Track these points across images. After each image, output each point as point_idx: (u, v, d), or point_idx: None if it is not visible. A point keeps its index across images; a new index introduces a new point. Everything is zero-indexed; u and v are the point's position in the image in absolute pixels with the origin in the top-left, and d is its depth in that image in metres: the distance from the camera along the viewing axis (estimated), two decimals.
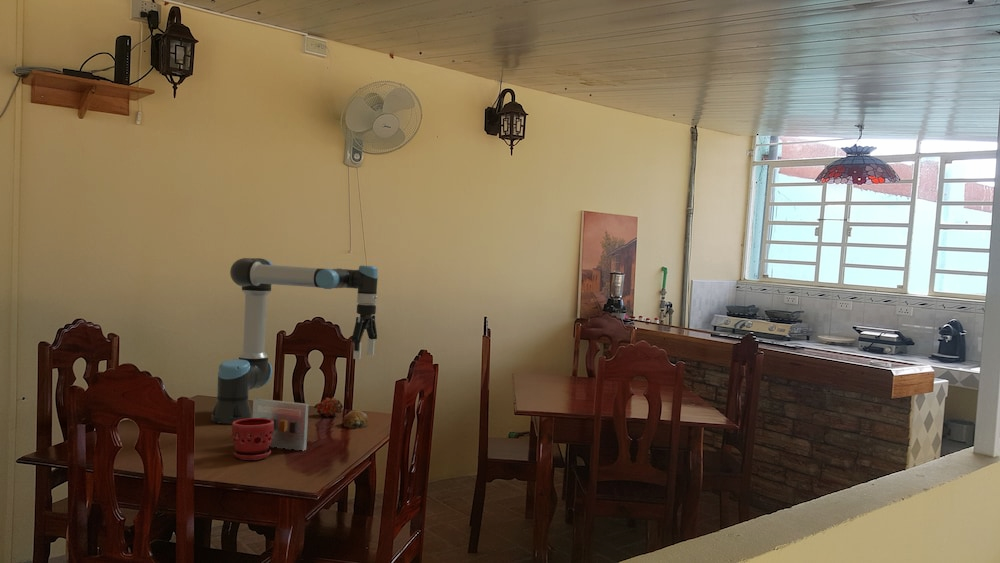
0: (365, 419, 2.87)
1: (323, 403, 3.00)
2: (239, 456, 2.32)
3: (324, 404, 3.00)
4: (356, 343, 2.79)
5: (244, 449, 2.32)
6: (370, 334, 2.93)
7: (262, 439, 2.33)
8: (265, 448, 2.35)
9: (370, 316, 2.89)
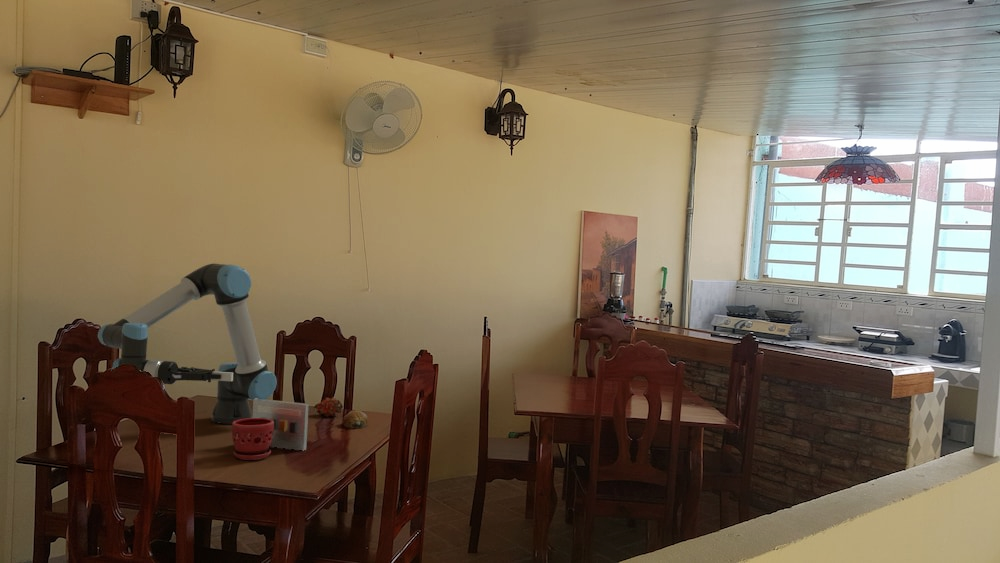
0: (365, 419, 2.87)
1: (323, 403, 3.00)
2: (239, 456, 2.32)
3: (324, 404, 3.00)
4: None
5: (244, 449, 2.32)
6: None
7: (262, 439, 2.33)
8: (265, 448, 2.35)
9: (171, 377, 2.35)
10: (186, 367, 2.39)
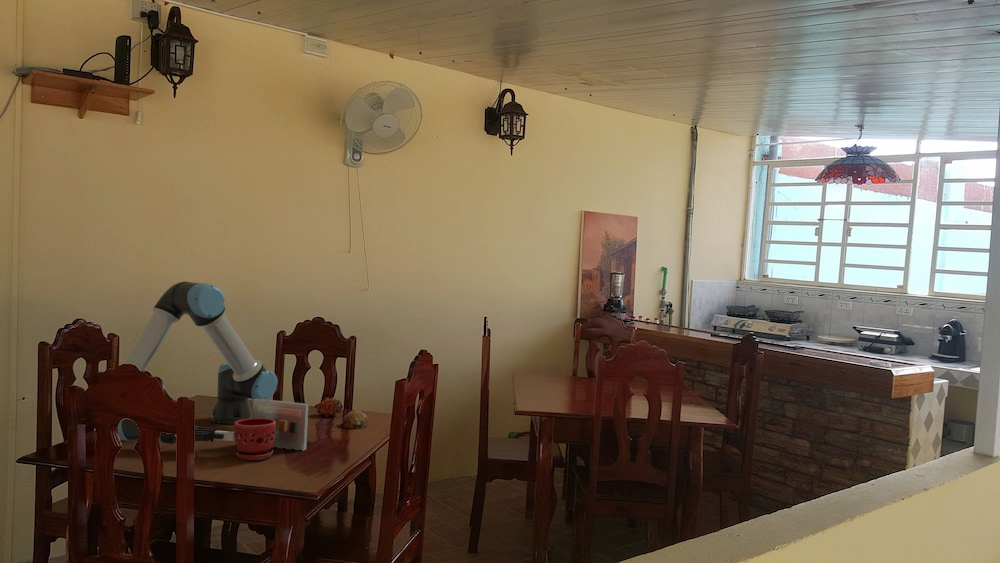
0: (365, 419, 2.87)
1: (323, 403, 3.00)
2: (241, 456, 2.32)
3: (324, 404, 3.00)
4: None
5: (246, 449, 2.32)
6: None
7: (264, 439, 2.33)
8: (267, 448, 2.35)
9: None
10: None
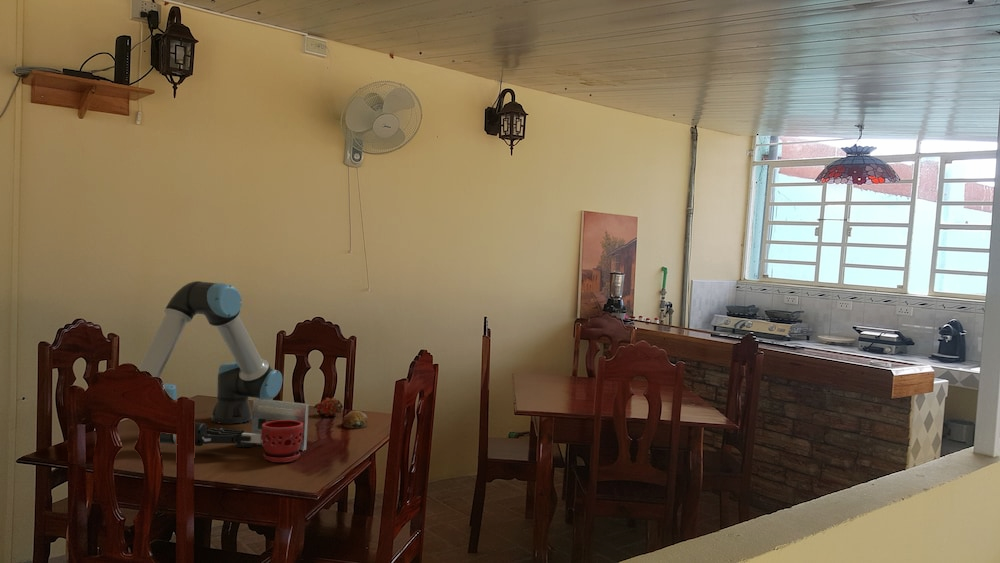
0: (365, 419, 2.86)
1: (323, 403, 3.00)
2: (269, 458, 2.31)
3: (324, 404, 3.00)
4: None
5: (274, 451, 2.31)
6: None
7: (292, 441, 2.32)
8: (295, 450, 2.35)
9: None
10: (215, 428, 2.38)
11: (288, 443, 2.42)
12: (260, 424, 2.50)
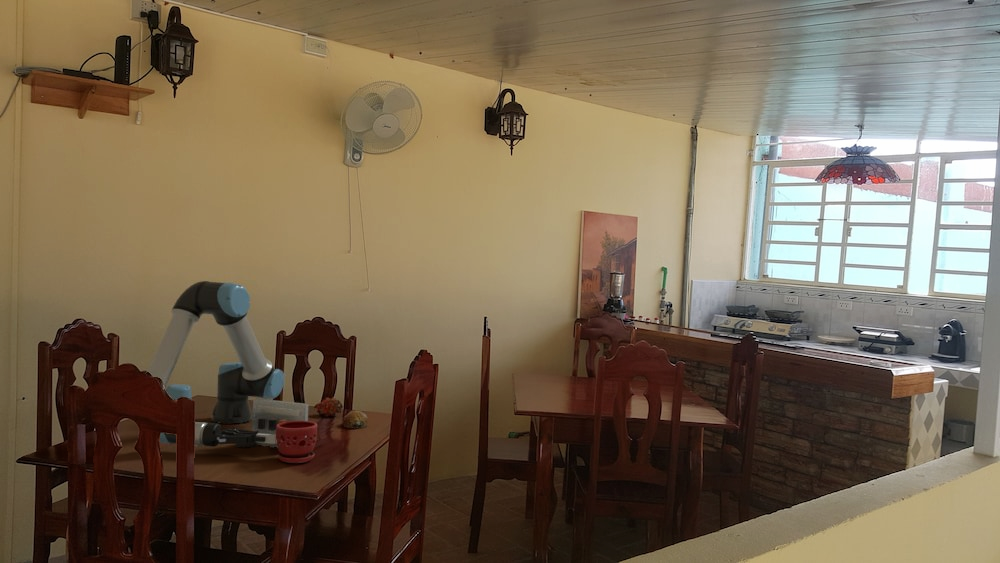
0: (365, 419, 2.86)
1: (323, 403, 3.00)
2: (284, 459, 2.31)
3: (324, 404, 3.00)
4: None
5: (289, 452, 2.31)
6: None
7: (307, 442, 2.32)
8: (309, 451, 2.35)
9: None
10: (230, 429, 2.39)
11: (302, 444, 2.42)
12: (260, 424, 2.50)
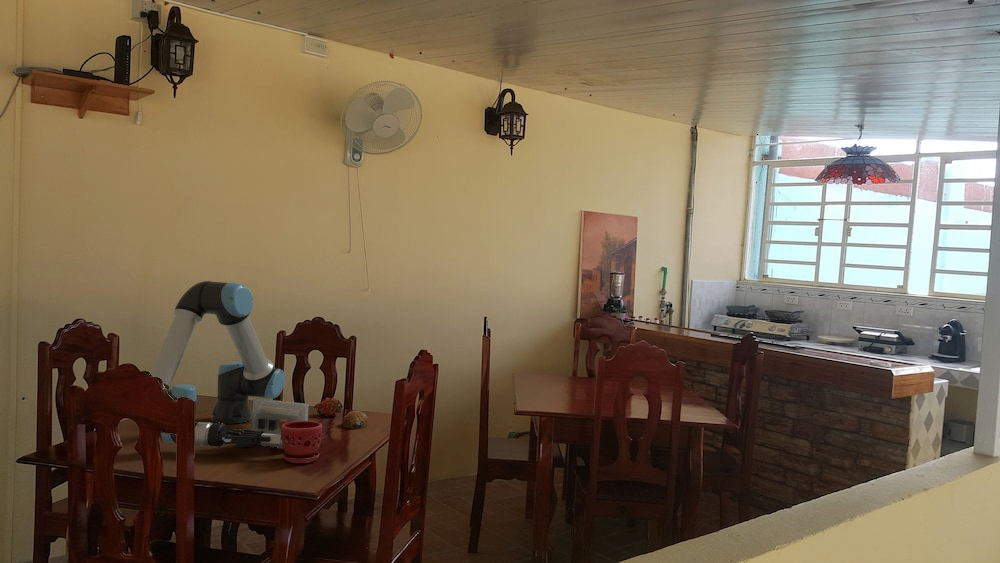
0: (365, 420, 2.86)
1: (323, 403, 3.00)
2: (289, 459, 2.32)
3: (324, 404, 3.00)
4: None
5: (294, 452, 2.31)
6: None
7: (312, 442, 2.33)
8: (314, 451, 2.35)
9: None
10: (235, 429, 2.39)
11: (307, 444, 2.42)
12: (260, 424, 2.50)
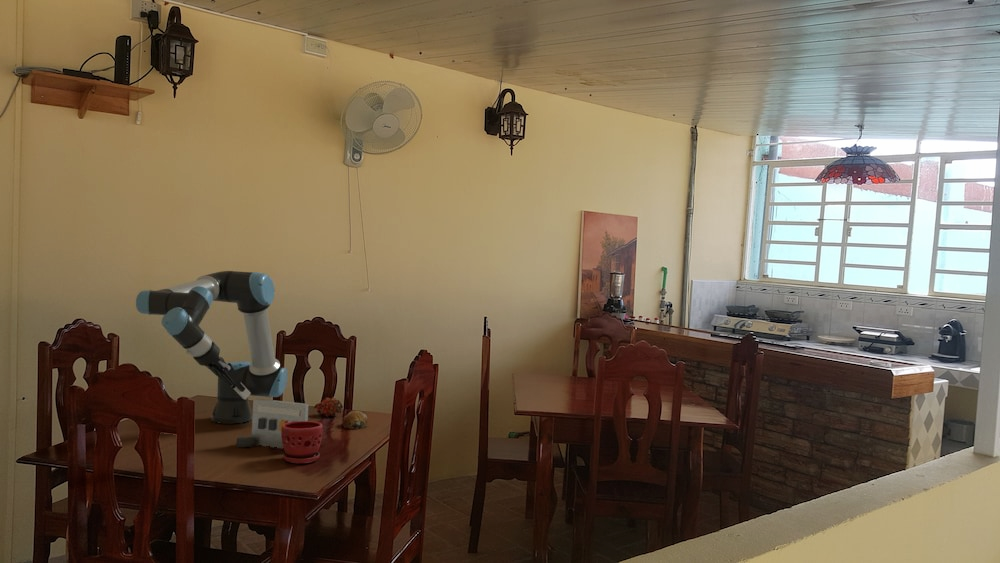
0: (365, 420, 2.86)
1: (323, 403, 3.00)
2: (289, 459, 2.32)
3: (324, 404, 3.00)
4: None
5: (294, 452, 2.31)
6: None
7: (312, 442, 2.33)
8: (314, 451, 2.35)
9: (214, 362, 2.24)
10: None
11: (308, 444, 2.42)
12: (260, 424, 2.50)
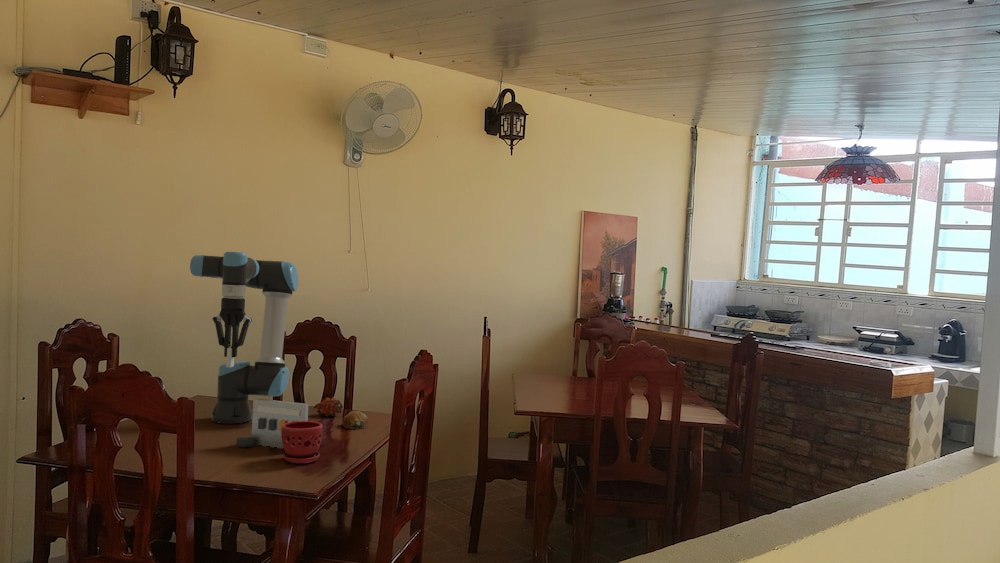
0: (365, 420, 2.86)
1: (323, 403, 3.00)
2: (289, 459, 2.32)
3: (324, 404, 3.00)
4: None
5: (294, 452, 2.31)
6: None
7: (312, 442, 2.33)
8: (314, 451, 2.35)
9: (239, 311, 2.41)
10: None
11: (308, 444, 2.42)
12: (260, 424, 2.50)
